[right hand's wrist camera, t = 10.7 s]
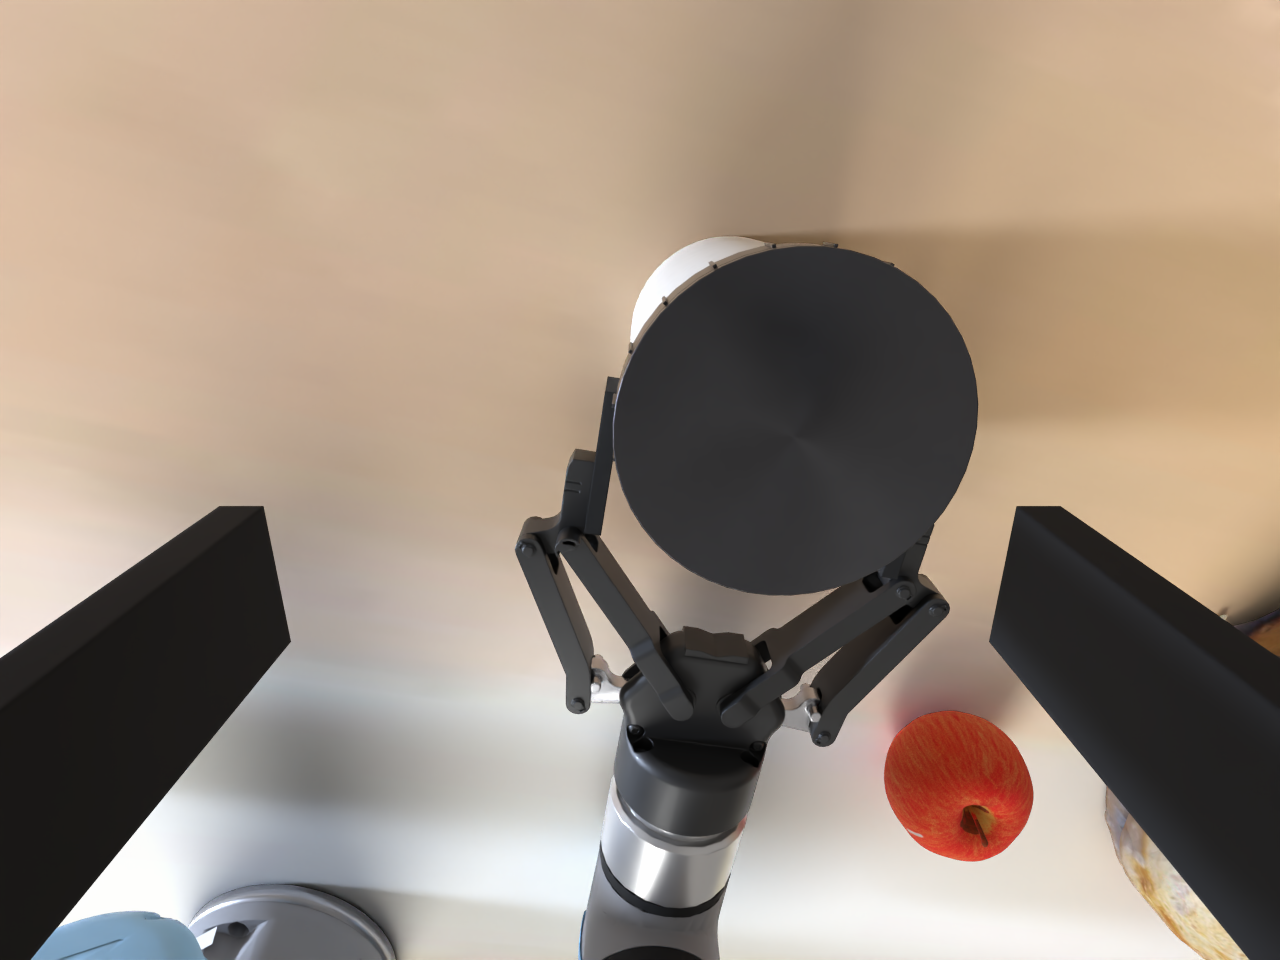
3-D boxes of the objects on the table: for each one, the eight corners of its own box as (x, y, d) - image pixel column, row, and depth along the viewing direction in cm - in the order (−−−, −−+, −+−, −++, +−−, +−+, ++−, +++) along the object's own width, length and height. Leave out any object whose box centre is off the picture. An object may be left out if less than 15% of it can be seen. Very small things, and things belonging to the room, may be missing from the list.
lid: (672, 605, 24) (674, 634, 22) (565, 310, 20) (558, 319, 19) (977, 517, 23) (1003, 541, 21) (919, 189, 19) (946, 187, 18)
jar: (663, 447, 38) (681, 614, 22) (605, 272, 35) (578, 325, 19) (837, 392, 37) (982, 528, 21) (793, 208, 34) (927, 207, 18)
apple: (888, 804, 47) (936, 917, 39) (852, 713, 44) (896, 815, 37) (1008, 766, 46) (1080, 875, 38) (978, 670, 43) (1049, 767, 36)
